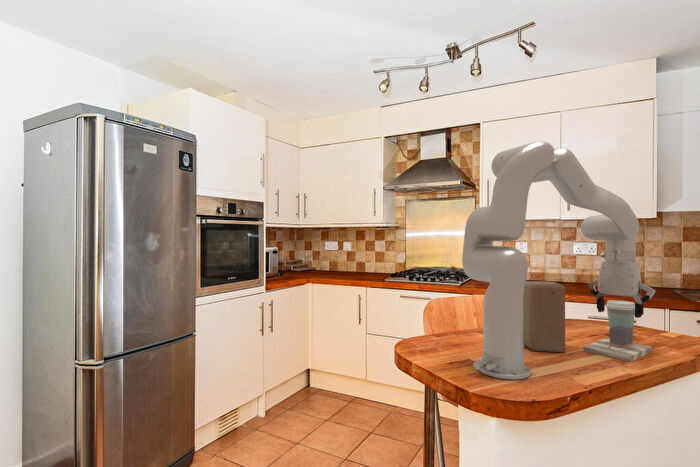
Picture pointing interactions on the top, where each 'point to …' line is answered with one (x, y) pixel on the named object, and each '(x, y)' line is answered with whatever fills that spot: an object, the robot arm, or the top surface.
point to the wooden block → (544, 316)
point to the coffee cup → (620, 313)
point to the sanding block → (621, 336)
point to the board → (617, 350)
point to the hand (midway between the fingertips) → (619, 314)
